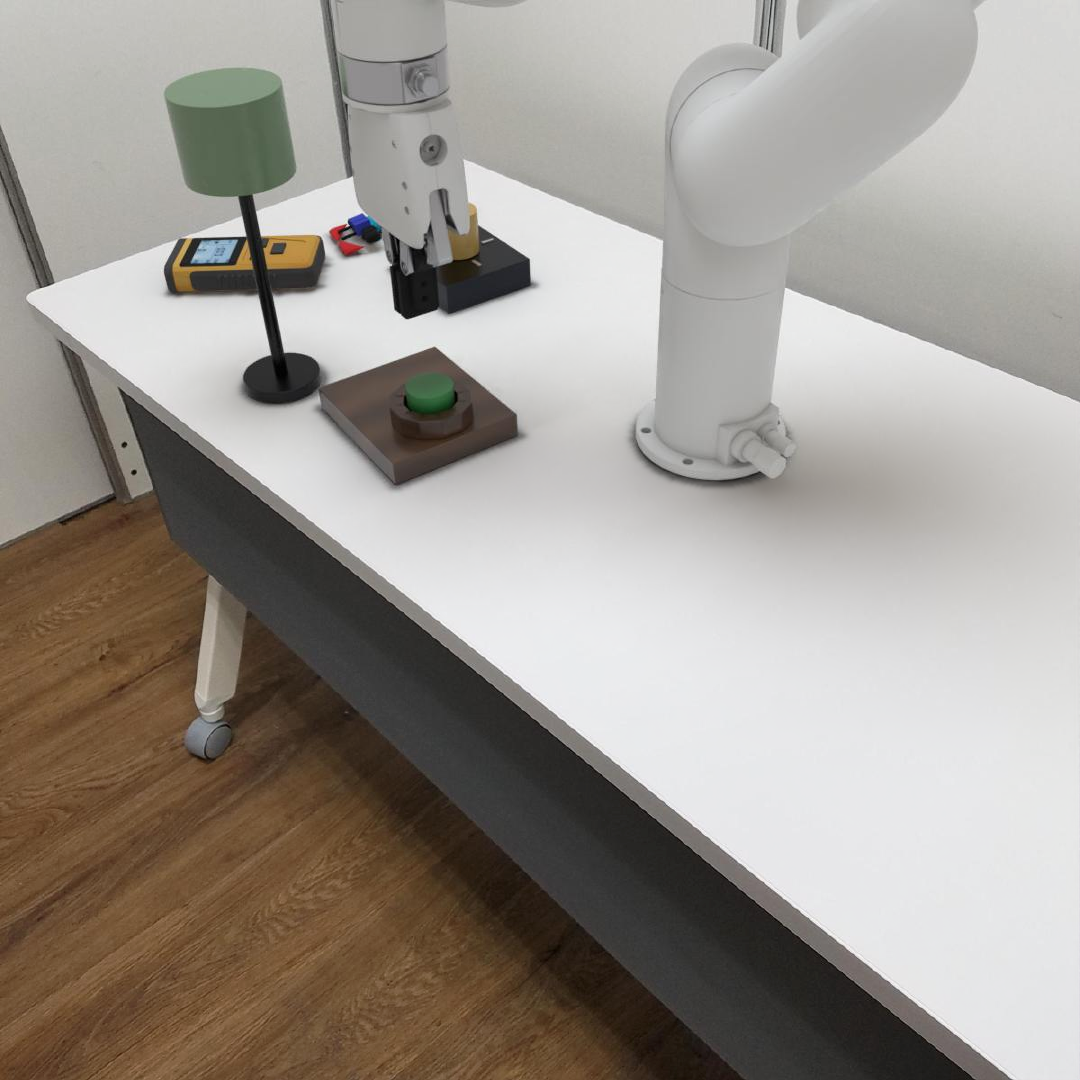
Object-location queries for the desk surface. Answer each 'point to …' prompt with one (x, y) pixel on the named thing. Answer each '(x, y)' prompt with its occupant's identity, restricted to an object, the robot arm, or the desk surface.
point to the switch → (430, 393)
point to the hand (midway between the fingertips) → (417, 310)
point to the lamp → (243, 188)
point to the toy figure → (357, 232)
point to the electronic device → (243, 263)
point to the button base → (416, 416)
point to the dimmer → (466, 238)
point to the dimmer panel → (482, 274)
